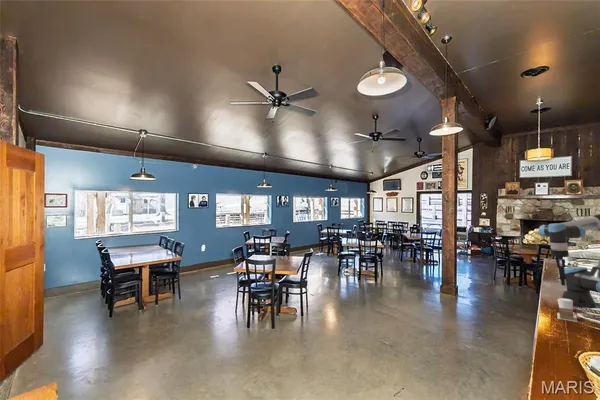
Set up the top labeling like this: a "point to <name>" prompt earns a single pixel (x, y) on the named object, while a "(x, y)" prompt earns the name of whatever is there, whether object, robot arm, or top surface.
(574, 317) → the board
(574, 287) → the robot arm
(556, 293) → the top surface
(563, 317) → the housing
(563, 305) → the white cup
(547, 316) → the top surface
